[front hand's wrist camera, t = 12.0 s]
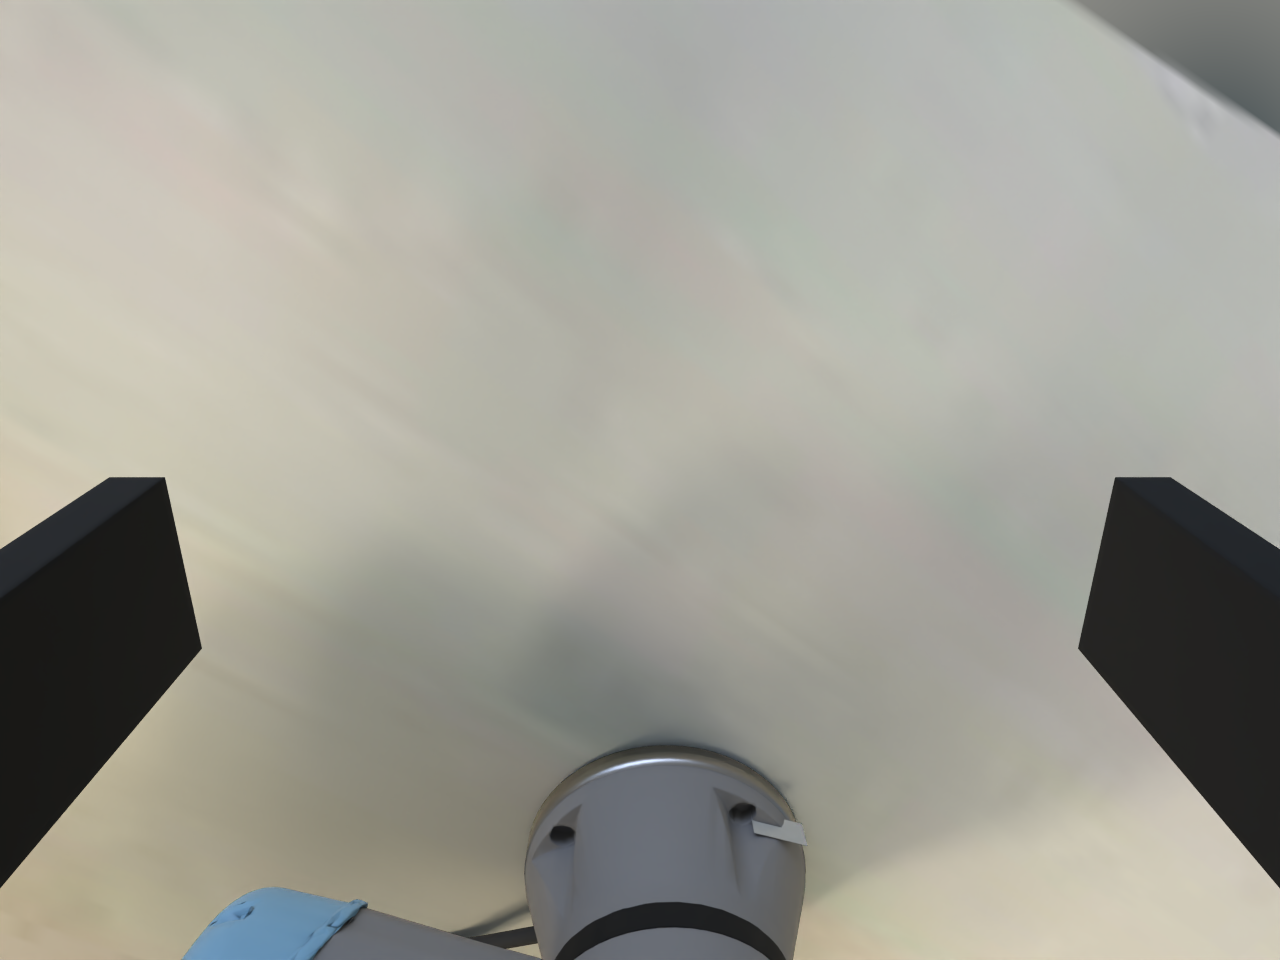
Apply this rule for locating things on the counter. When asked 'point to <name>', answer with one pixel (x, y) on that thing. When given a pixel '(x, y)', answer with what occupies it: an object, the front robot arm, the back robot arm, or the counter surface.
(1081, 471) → the counter surface
